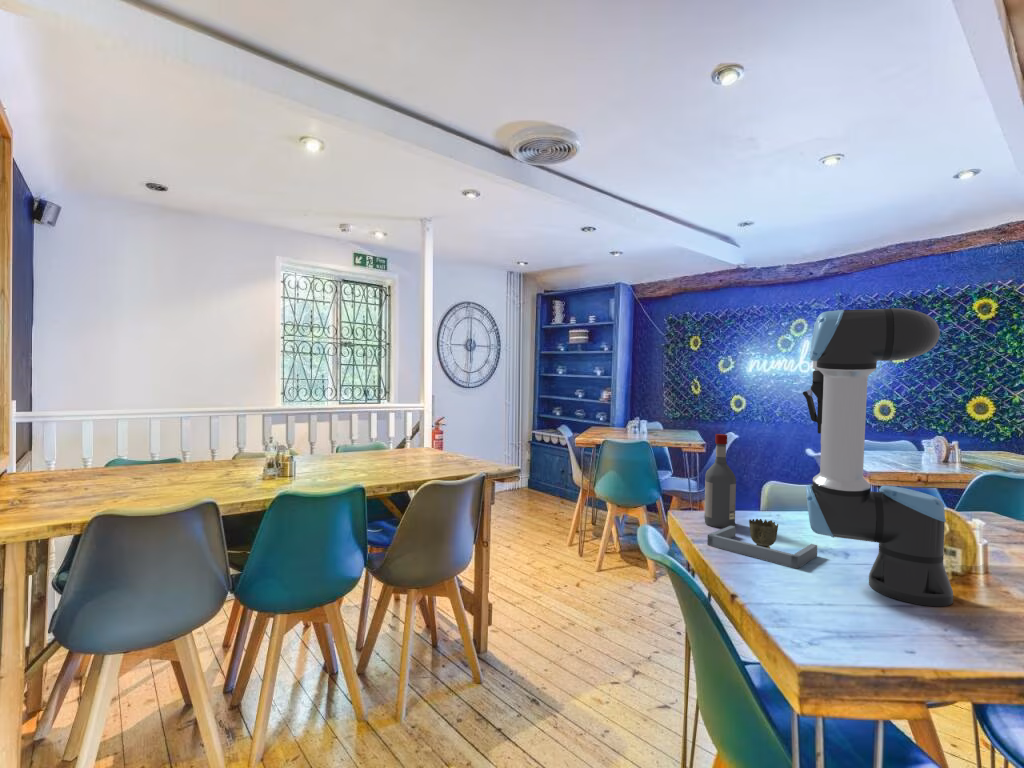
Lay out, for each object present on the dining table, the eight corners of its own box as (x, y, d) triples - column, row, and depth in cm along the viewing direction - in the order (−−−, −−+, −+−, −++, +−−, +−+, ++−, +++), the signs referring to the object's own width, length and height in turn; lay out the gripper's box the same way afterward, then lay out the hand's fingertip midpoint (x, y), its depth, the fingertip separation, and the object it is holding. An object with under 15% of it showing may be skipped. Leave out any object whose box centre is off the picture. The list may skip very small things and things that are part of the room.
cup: (782, 555, 139) (783, 526, 139) (754, 553, 140) (755, 525, 140) (770, 546, 147) (771, 518, 146) (744, 545, 147) (745, 517, 147)
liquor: (705, 526, 166) (707, 435, 166) (704, 519, 175) (706, 432, 174) (735, 529, 163) (737, 436, 163) (732, 522, 172) (734, 434, 172)
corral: (817, 556, 139) (817, 545, 139) (797, 568, 129) (797, 557, 129) (730, 535, 157) (730, 525, 157) (707, 544, 147) (707, 534, 147)
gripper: (854, 370, 158) (852, 445, 158) (807, 370, 167) (806, 441, 167) (846, 369, 153) (845, 447, 153) (799, 369, 162) (798, 443, 162)
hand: (824, 444), depth 160 cm, fingers closed
